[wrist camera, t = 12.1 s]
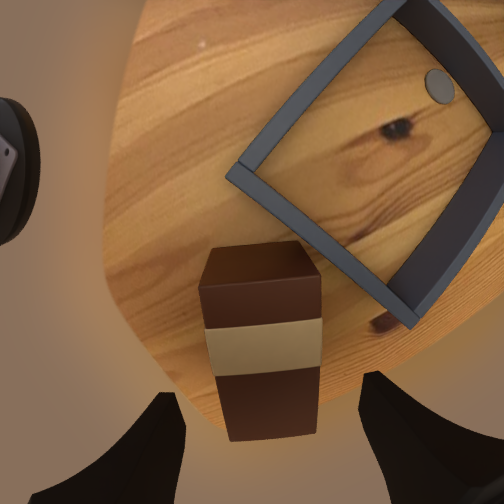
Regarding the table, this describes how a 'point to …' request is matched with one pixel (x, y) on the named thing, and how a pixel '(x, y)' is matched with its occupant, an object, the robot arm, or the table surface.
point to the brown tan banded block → (264, 338)
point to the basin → (465, 200)
